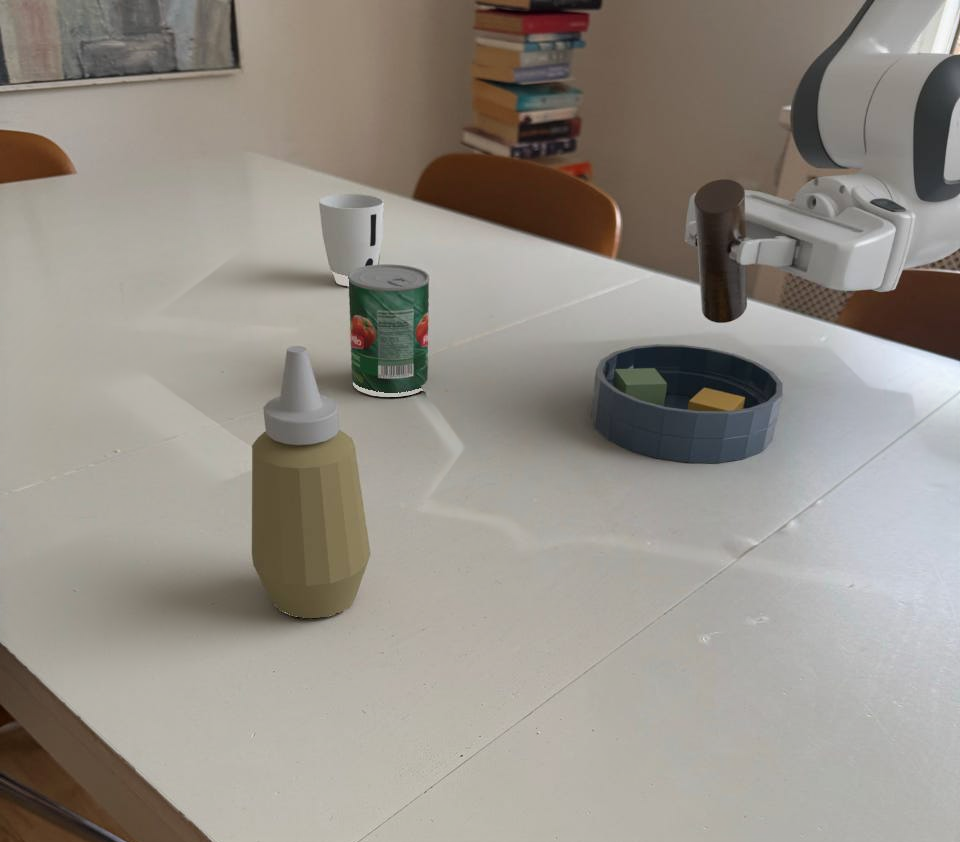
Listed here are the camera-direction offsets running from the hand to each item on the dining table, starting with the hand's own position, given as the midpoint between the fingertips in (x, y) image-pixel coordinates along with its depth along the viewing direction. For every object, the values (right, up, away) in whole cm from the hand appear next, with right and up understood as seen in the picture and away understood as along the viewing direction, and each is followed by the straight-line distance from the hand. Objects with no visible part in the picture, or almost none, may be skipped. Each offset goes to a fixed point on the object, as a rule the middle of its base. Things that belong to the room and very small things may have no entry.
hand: (712, 243), depth 84 cm
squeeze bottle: (-31, -31, -14) cm, 46 cm away
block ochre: (+2, -15, +9) cm, 17 cm away
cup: (-36, +13, +47) cm, 61 cm away
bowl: (0, -13, +12) cm, 18 cm away
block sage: (-5, -12, +13) cm, 18 cm away
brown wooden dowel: (+3, -3, +7) cm, 8 cm away
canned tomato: (-29, -7, +19) cm, 35 cm away
